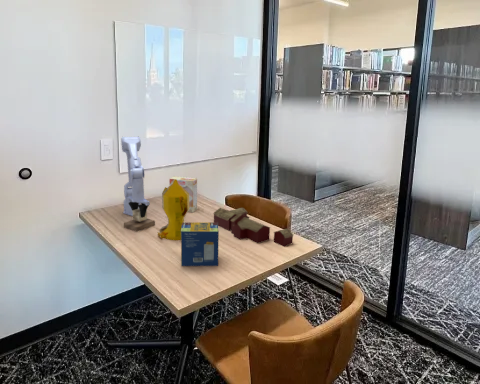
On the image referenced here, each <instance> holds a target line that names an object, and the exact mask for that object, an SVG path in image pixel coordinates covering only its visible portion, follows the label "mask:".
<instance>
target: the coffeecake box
mask: <svg viewBox="0 0 480 384" xmlns="http://www.w3.org/2000/svg"><path fill="white" fill-rule="evenodd" d="M175 179H176V180H177V181H178V184H179V185H181V186H182V187H183V188H184V189H185V190H186V191H187V192H188V193H189V210H188V212H187V213H195V211H197V209H198V178H197V177H196V178H195V177H187V176H186V177H185V176H175V175H173V176H172V177H169V186H170V185H172V183H173V181H174V180H175Z"/></svg>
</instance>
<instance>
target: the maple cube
mask: <svg viewBox="0 0 480 384" xmlns="http://www.w3.org/2000/svg"><path fill="white" fill-rule="evenodd" d="M147 210H148V209H147ZM147 210H146V214H145V217H143V218H141V215H140V209H136V210H132V211H133V216H132V220H136V221H139V222H140V221H143V220H146V219H147V218H148V215H147V214H148V213H147Z"/></svg>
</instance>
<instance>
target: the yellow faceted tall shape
mask: <svg viewBox="0 0 480 384" xmlns="http://www.w3.org/2000/svg"><path fill="white" fill-rule="evenodd" d="M161 204H162V205H161V206H162V207H161V208H162V210H163V211H164V213H165V215H166V217H167V224H166V225H164V226H162V227H161V228H160V229H159V230H158V232H157V237H159V238H161V239H165V240H166V241H177V242H178V241H181V228H182V223H183V222H185V217H186V214H187V213H189V212H188V210H189V193H188V192H187V191H186V190H185V189H184V188H183V187H182V186H181V185H179V184H178V181H177V180H176V179H175V180H174V181H173V183H172V185H170V184H169V186H168V187H164V189H163V191H162V192H161Z"/></svg>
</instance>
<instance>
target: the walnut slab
mask: <svg viewBox="0 0 480 384" xmlns="http://www.w3.org/2000/svg"><path fill="white" fill-rule="evenodd" d="M155 225H156V221H155V220H154V219H152V218H151V219H150V218H148V217H147V219H146V220H143V221H140V222H139V221H136V220H133V219H131V220H128V221H125V222H124V223H123V228H124V229H128V230H131V231H133V232H134V231H135V232H137V233H139V232H140V231H143V230H146V229H149V228H151V227H153V226H155Z"/></svg>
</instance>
